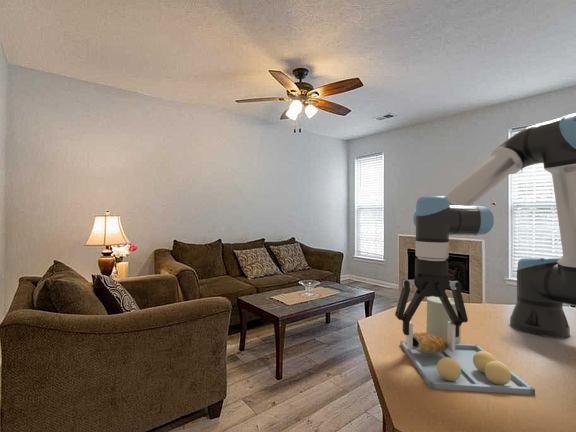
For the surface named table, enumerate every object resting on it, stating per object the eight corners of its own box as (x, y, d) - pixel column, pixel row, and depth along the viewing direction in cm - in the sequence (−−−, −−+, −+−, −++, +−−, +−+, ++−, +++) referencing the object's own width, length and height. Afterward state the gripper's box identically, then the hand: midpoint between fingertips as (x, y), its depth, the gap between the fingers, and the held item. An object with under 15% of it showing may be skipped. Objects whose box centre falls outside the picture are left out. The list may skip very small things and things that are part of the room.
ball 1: (489, 367, 73) (489, 348, 73) (501, 378, 69) (501, 356, 69) (468, 366, 74) (469, 347, 74) (479, 376, 69) (479, 355, 69)
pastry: (435, 342, 84) (436, 327, 84) (454, 353, 77) (455, 337, 77) (404, 344, 82) (405, 330, 82) (421, 356, 75) (422, 340, 75)
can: (465, 347, 86) (466, 303, 86) (429, 344, 88) (430, 301, 88) (455, 335, 95) (455, 295, 95) (422, 332, 97) (423, 293, 97)
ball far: (455, 375, 70) (455, 354, 70) (465, 386, 65) (465, 363, 65) (433, 373, 70) (433, 353, 70) (442, 384, 65) (442, 362, 65)
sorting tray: (477, 350, 84) (477, 344, 84) (534, 397, 62) (535, 389, 62) (400, 346, 86) (400, 341, 86) (430, 391, 64) (430, 383, 64)
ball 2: (502, 378, 68) (502, 357, 68) (515, 390, 64) (516, 367, 64) (480, 377, 69) (480, 356, 69) (492, 389, 64) (492, 366, 64)
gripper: (470, 257, 82) (468, 344, 81) (382, 255, 83) (381, 340, 83) (486, 261, 74) (484, 357, 74) (389, 259, 76) (388, 352, 76)
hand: (430, 348), depth 79 cm, fingers closed on pastry, 9 cm apart
